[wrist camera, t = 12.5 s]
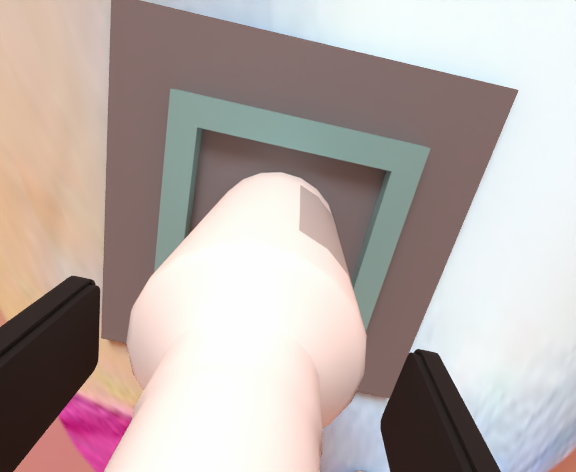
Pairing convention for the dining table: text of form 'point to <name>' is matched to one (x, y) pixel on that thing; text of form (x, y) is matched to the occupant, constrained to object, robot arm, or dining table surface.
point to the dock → (290, 157)
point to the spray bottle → (245, 338)
